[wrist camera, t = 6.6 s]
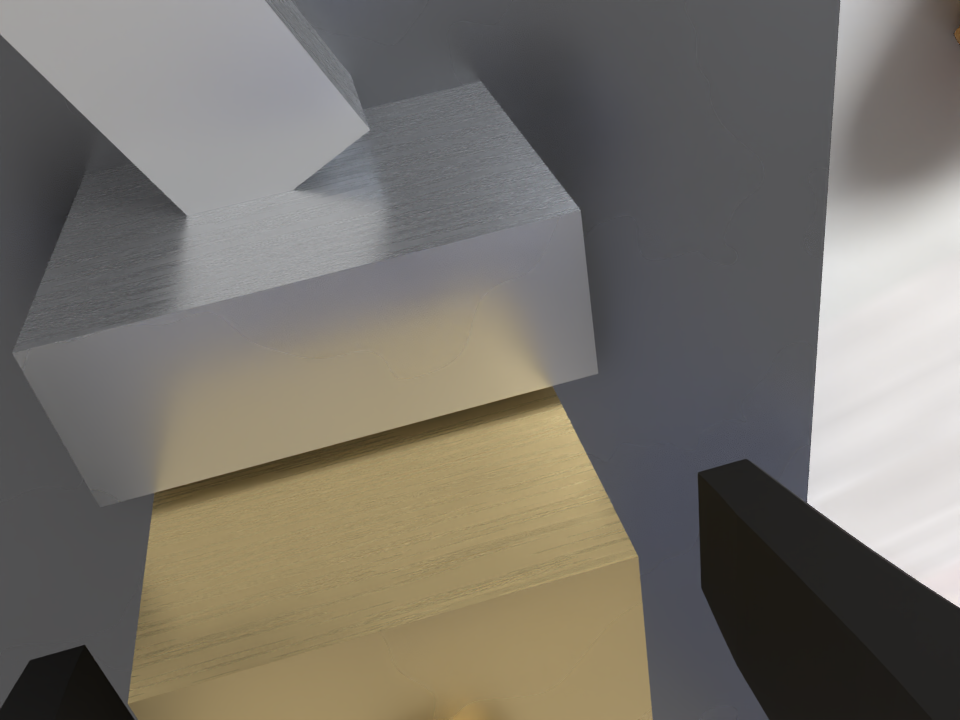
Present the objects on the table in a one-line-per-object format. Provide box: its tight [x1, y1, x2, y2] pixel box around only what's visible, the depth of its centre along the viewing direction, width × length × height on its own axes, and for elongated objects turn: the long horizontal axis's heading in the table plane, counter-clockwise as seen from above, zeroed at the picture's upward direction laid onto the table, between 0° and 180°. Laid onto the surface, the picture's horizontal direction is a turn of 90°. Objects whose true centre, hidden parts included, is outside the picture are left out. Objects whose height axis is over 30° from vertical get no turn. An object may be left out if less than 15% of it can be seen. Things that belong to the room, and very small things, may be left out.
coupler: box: [128, 386, 653, 720], centre depth 10 cm, size 6×4×6 cm, turn 10°
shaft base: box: [0, 0, 840, 720], centre depth 11 cm, size 21×17×4 cm
